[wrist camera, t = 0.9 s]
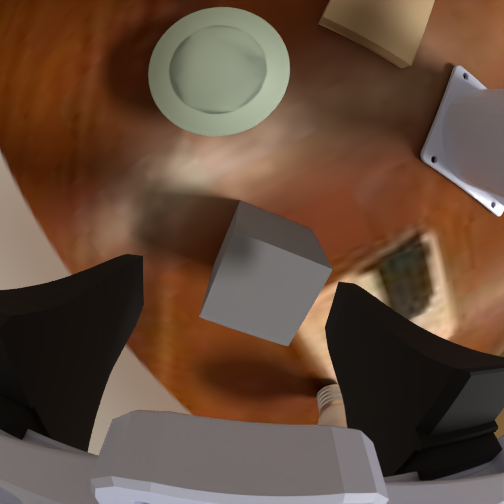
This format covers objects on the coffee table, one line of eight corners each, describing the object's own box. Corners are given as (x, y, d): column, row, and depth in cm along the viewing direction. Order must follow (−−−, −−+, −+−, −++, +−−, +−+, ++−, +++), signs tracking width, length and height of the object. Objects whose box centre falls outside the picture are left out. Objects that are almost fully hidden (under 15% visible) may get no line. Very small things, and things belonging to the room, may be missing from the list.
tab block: (311, 229, 20) (332, 269, 15) (280, 292, 22) (287, 346, 17) (240, 200, 20) (234, 230, 14) (212, 267, 21) (199, 317, 16)
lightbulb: (304, 417, 27) (318, 515, 17) (286, 377, 25) (297, 491, 15) (367, 398, 27) (398, 493, 16) (358, 354, 24) (398, 463, 14)
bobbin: (296, 57, 16) (311, 35, 12) (256, 149, 18) (256, 157, 14) (198, 23, 15) (181, -6, 11) (158, 114, 17) (129, 112, 13)
